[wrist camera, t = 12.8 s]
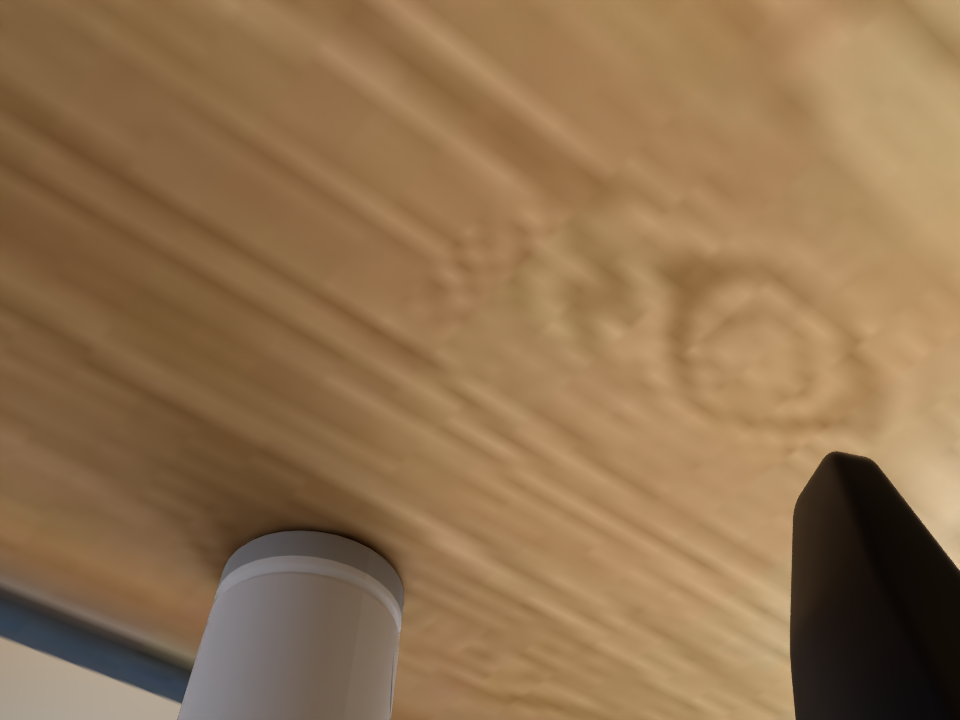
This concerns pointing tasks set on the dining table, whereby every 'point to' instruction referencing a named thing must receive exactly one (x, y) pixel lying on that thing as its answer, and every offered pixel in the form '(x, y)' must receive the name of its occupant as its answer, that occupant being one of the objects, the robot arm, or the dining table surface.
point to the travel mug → (299, 633)
